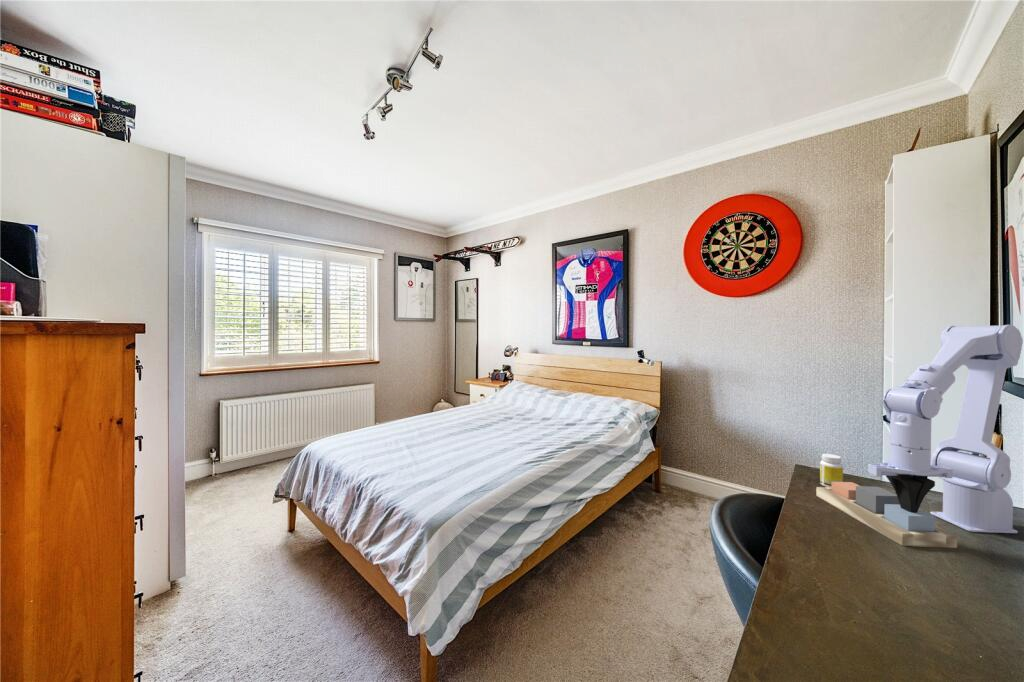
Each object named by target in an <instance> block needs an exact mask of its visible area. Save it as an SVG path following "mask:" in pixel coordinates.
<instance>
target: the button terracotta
mask: <svg viewBox="0 0 1024 682" xmlns="http://www.w3.org/2000/svg"><path fill="white" fill-rule="evenodd" d="M856 486H860V485H859V484H857V483H855V482H852V481H843V482H831V491H833V492H835V493H836V494H838V495H840V496H842V497H844V498H846V499H848V500H856Z"/></svg>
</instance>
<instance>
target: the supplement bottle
mask: <svg viewBox="0 0 1024 682" xmlns="http://www.w3.org/2000/svg"><path fill="white" fill-rule="evenodd" d="M843 480H844V466H843V464H842V456H839V455H836V454H833V453H822V454H821V461H820V462H819V484H820V485H822V487H831V482H844V481H843Z"/></svg>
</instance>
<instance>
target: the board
mask: <svg viewBox="0 0 1024 682" xmlns="http://www.w3.org/2000/svg"><path fill="white" fill-rule="evenodd" d="M815 491H816V494H815V495H816V497H817V498H819V499H821V500H822V501H824V502H826V503H827V504H829V505H831V506H833V507H834V508H836V509H838V510H839V511H842V512H843V513H845V514H847V515H848V516H850V517H852V518H853V519H855V520H856V521H859V522H861V524H864V525H866V526H868V527H869V528H870V529H872V530H874V531H875V532H877V533H880V534H881V535H883V536H884V537H886V538H888V539H890V540H891V541H893V542H895V543H897V544H899V545H901V546H902V547H923V548H925V547H927V548H928V547H929V548H947V549H948V548H952V549H957V548H958V535H957V534H954V533H952V532H951V531H948V530H946V529H944V528H942V527H940V526H938V525H936V524H935V532H909V531H906V530H904V529H902V528H901V527H899V526H897V525H895V524H893V523H891V522H889V521H887V520H886V519H884V514H876V513H874V512H872V511H870V510H868V509H866V508H864V507H862V506H860V505H859V504H857V503H856V500H848V499H846V498H844V497H842V496H840V495H838V494H836V493H835V492H833V491H831V487H825V486H816V490H815Z"/></svg>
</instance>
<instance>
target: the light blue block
mask: <svg viewBox="0 0 1024 682" xmlns="http://www.w3.org/2000/svg"><path fill="white" fill-rule="evenodd" d="M884 519H886V520H887V521H889V522H891V523H893V524H895V525H897V526H899V527H901V528H902V529H904V530H906V531H909V532H935V525H936V516H934V515H932V514H931V513H928V512H926V511H924V510H922V509H920V508H919V509H918V512H917V513H913V512H908V511H906V510H904V509H902V508H901V507H900V505H898V504H885V508H884Z"/></svg>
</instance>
